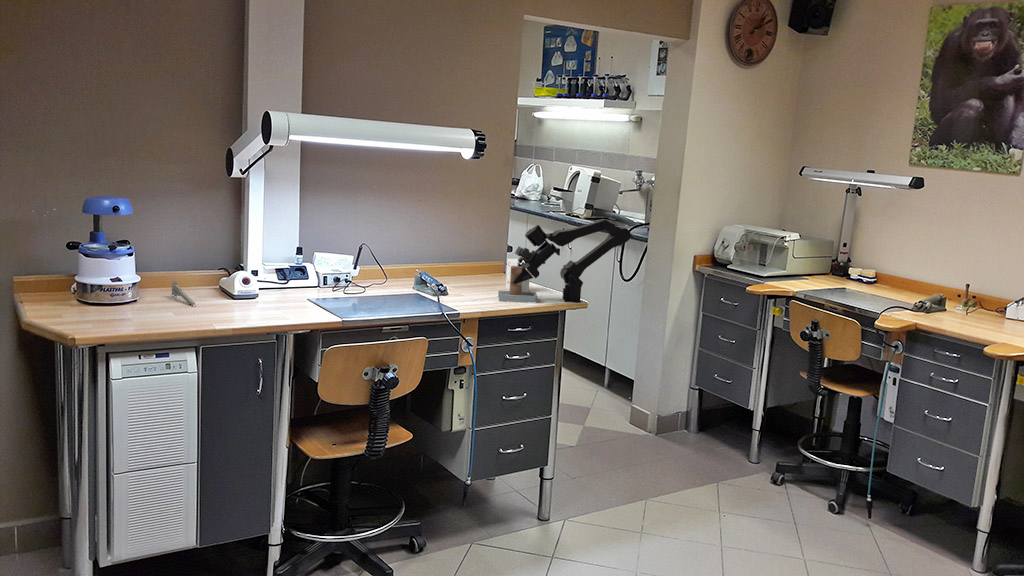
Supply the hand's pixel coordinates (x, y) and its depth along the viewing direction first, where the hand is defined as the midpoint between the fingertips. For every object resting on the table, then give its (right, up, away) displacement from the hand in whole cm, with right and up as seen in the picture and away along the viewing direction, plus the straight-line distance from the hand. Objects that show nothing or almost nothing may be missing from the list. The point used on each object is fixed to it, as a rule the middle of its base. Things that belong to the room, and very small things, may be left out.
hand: (512, 281), depth 327 cm
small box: (+2, -4, +21) cm, 22 cm away
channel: (+2, -7, +2) cm, 7 cm away
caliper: (-115, -8, -36) cm, 121 cm away
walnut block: (+1, -7, +1) cm, 7 cm away
